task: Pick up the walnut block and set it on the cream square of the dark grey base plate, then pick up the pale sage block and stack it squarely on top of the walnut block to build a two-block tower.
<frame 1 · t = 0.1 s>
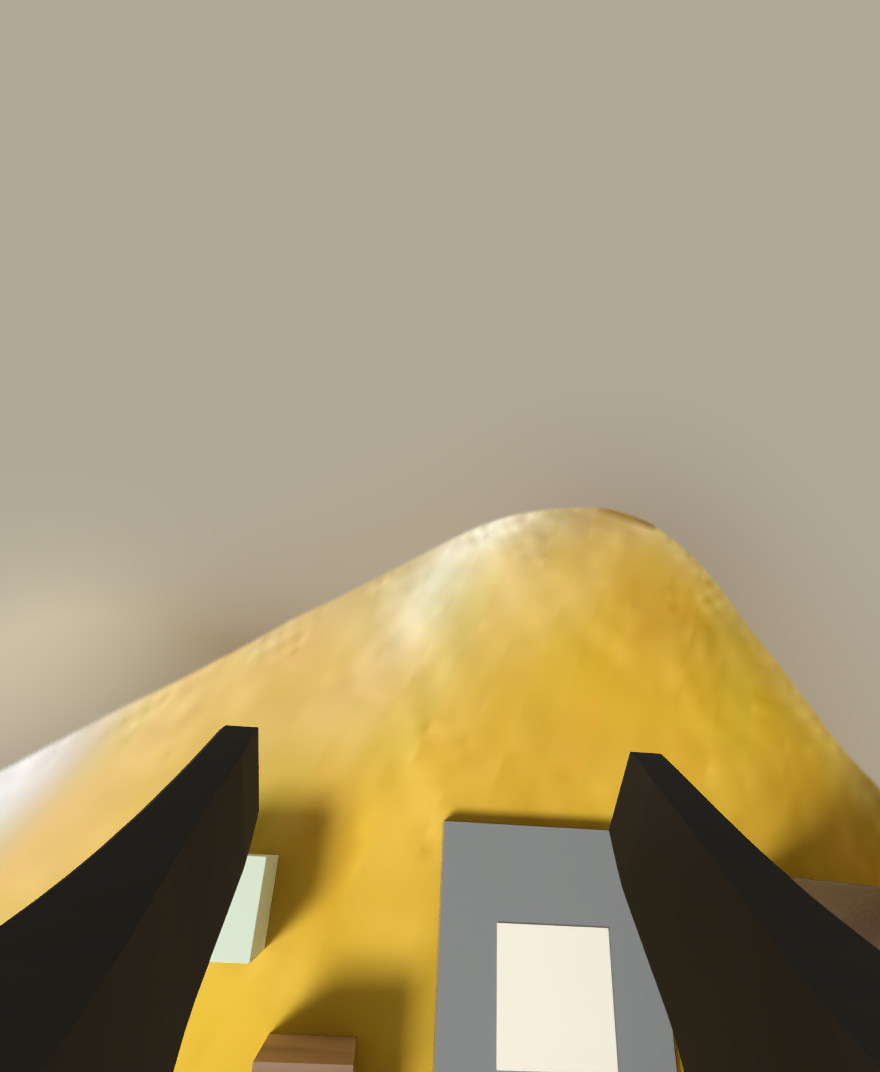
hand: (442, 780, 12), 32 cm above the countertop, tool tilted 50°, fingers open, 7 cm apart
base plate: (550, 991, 36), on the countertop
sage block: (231, 898, 37), on the countertop
pillar candle: (792, 962, 39), on the countertop
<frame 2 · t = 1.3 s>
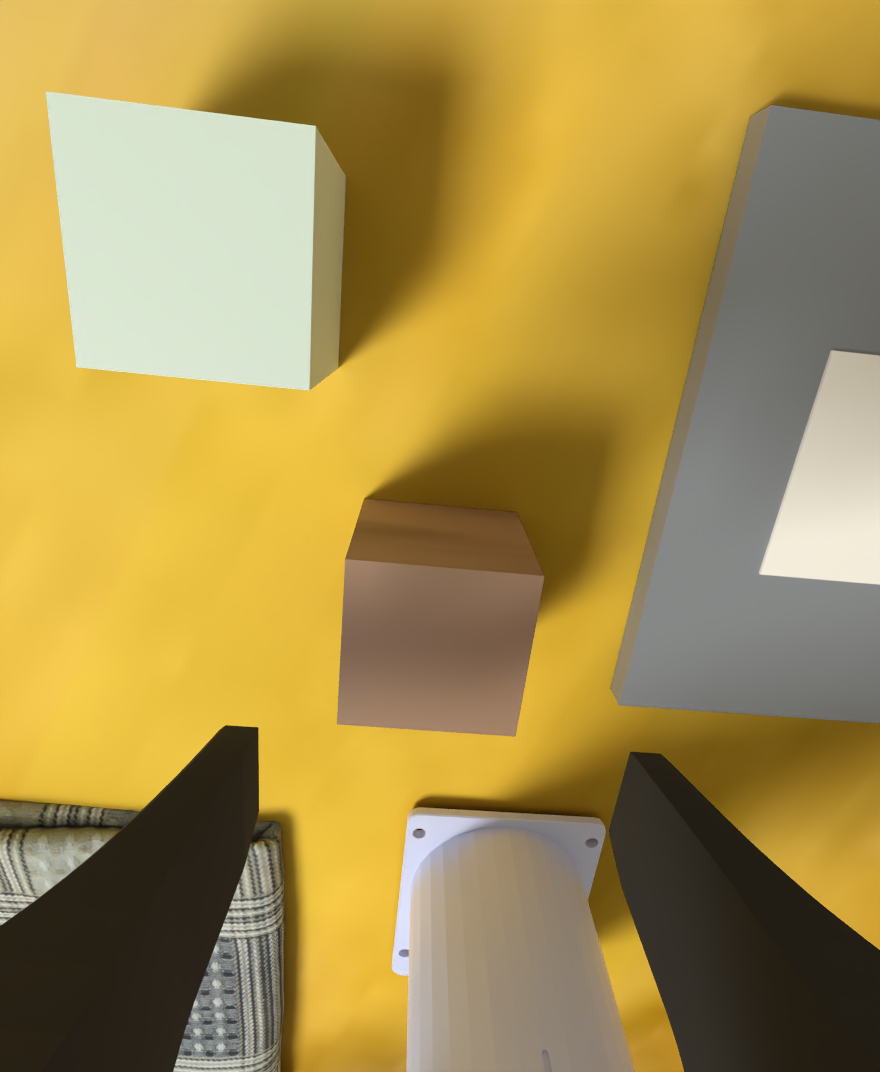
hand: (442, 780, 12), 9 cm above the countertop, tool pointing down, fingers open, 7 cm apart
dish towel: (85, 938, 27), on the countertop
base plate: (877, 471, 19), on the countertop
sage block: (253, 267, 17), on the countertop
walnut block: (433, 573, 20), on the countertop
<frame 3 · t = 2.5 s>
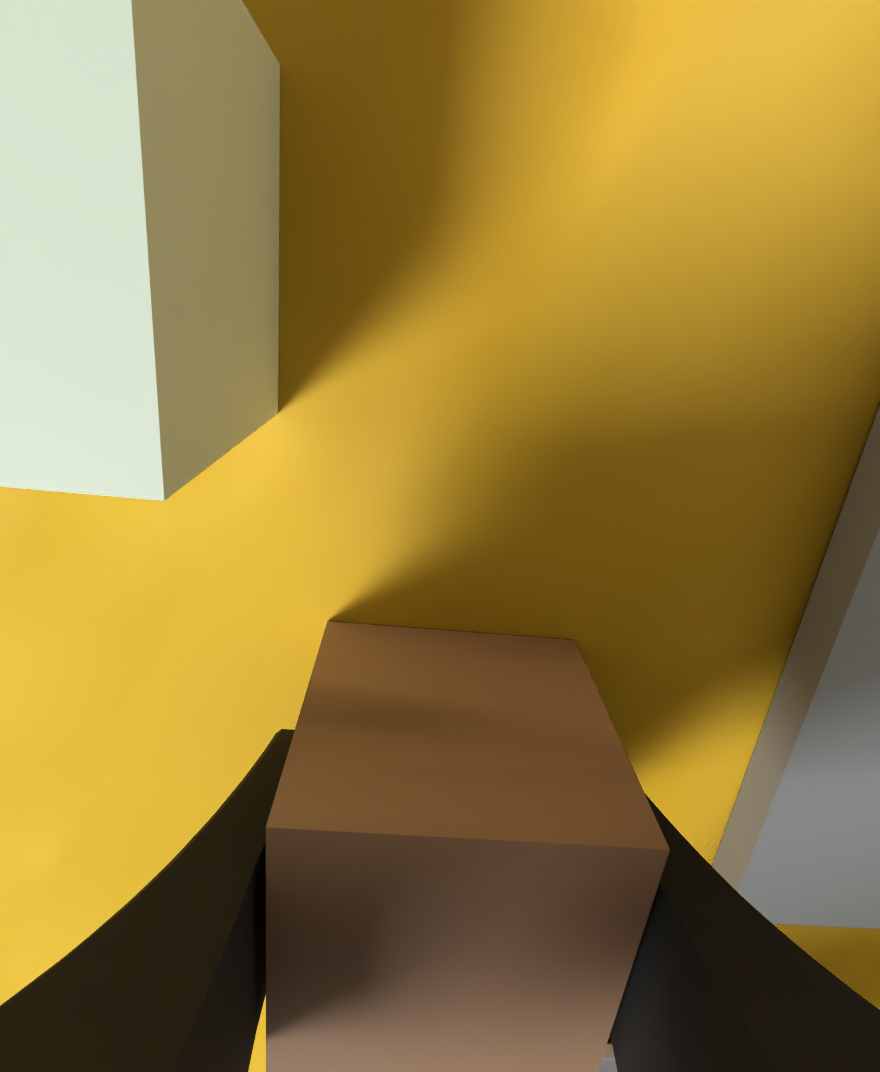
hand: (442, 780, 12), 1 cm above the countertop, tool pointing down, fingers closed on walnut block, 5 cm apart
sage block: (119, 237, 9), on the countertop
walnut block: (440, 731, 13), on the countertop, touching gripper
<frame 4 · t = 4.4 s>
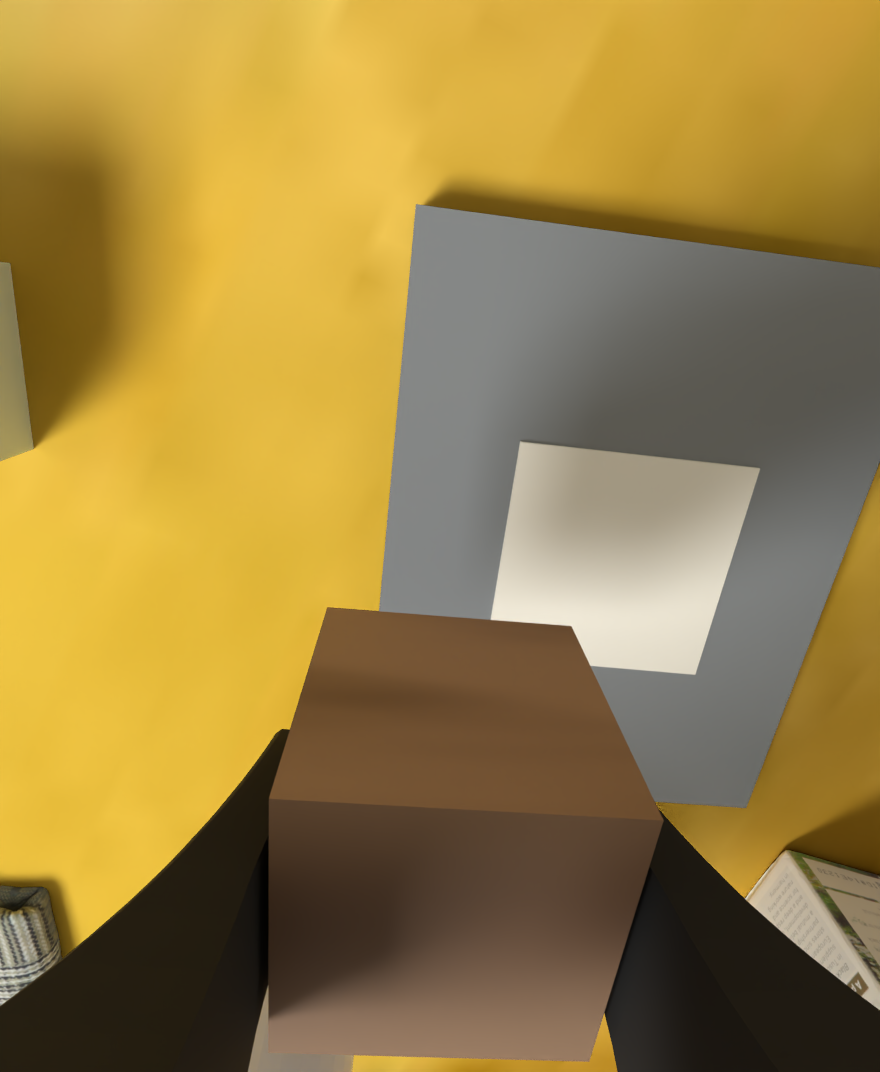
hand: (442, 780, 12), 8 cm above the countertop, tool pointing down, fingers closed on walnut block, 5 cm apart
syrup box: (801, 901, 26), on the countertop
base plate: (604, 553, 19), on the countertop
walnut block: (438, 717, 13), point 7 cm above the countertop, touching gripper
when the fingers open (4 cm above the countertop, at t = 6.2 s): walnut block stays where it is, resting on base plate.
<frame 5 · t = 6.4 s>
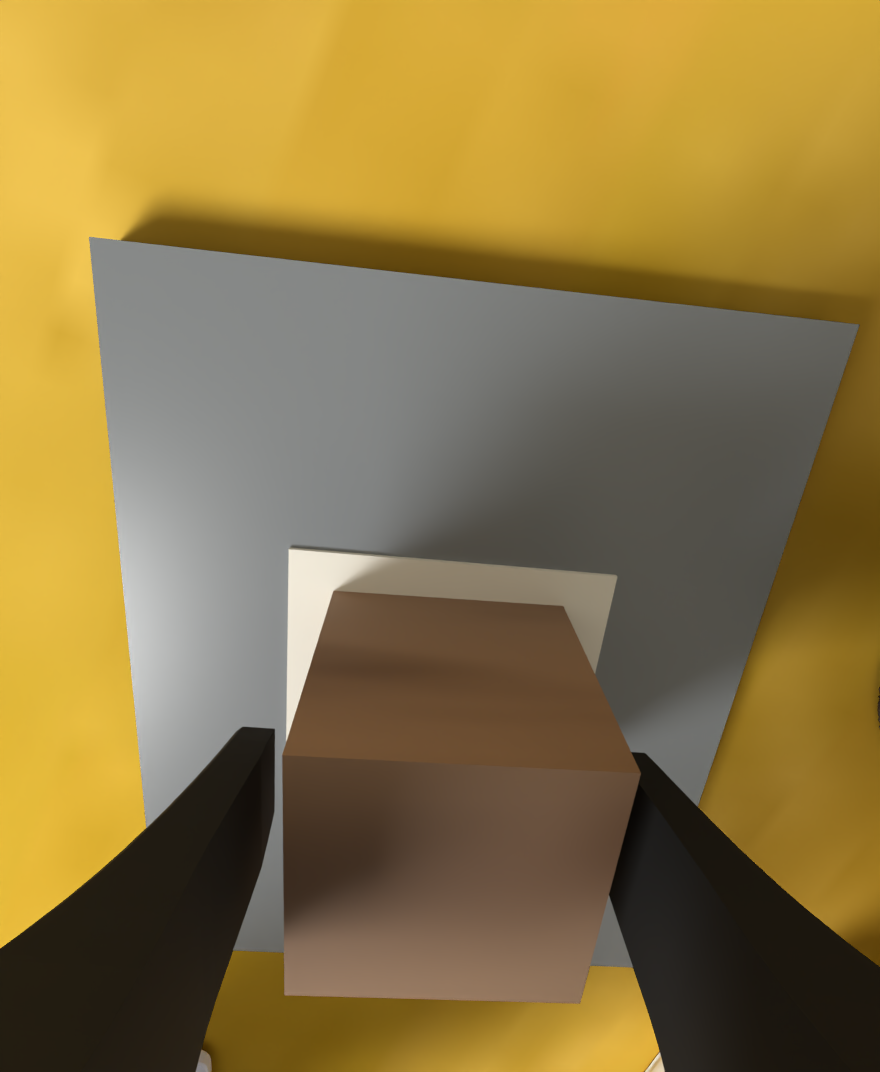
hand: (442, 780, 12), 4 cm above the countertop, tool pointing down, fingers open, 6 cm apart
base plate: (437, 673, 15), on the countertop
walnut block: (439, 694, 14), point 1 cm above the countertop, touching base plate
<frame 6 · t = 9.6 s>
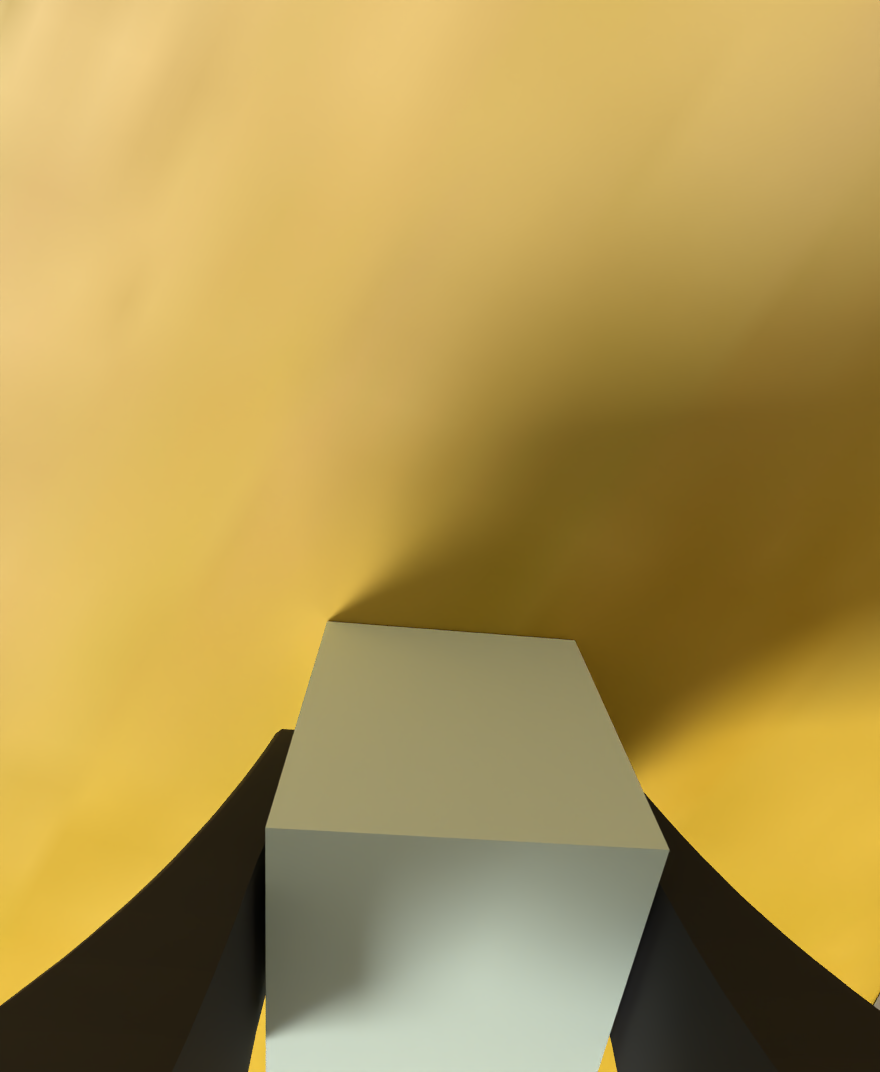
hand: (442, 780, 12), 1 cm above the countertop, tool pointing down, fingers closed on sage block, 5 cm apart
sage block: (439, 731, 13), on the countertop, touching gripper
when the fingers open (8 cm above the countertop, at t = 13.3 s): sage block stays where it is, resting on walnut block.
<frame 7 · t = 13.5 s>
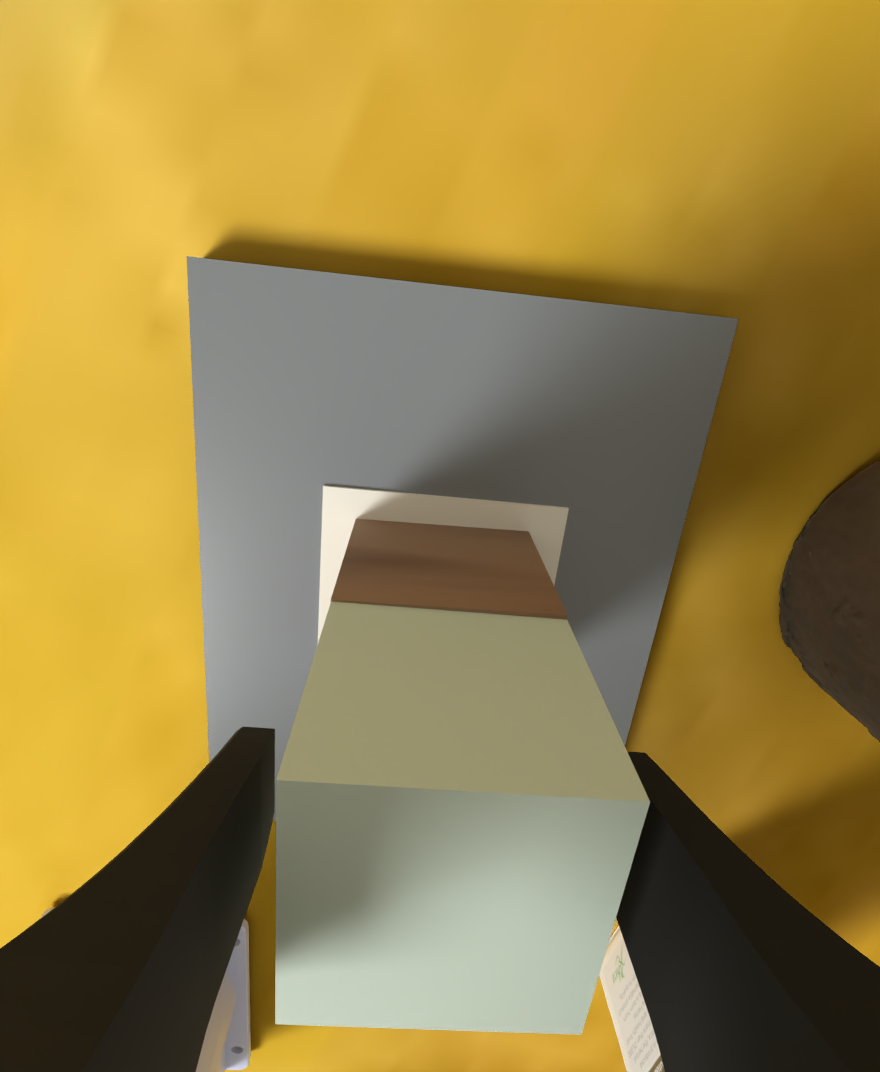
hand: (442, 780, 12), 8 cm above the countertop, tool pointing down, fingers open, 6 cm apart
syrup box: (679, 925, 26), on the countertop
base plate: (434, 590, 19), on the countertop
sage block: (438, 708, 13), point 6 cm above the countertop, touching walnut block
walnut block: (435, 602, 18), point 1 cm above the countertop, touching base plate, sage block
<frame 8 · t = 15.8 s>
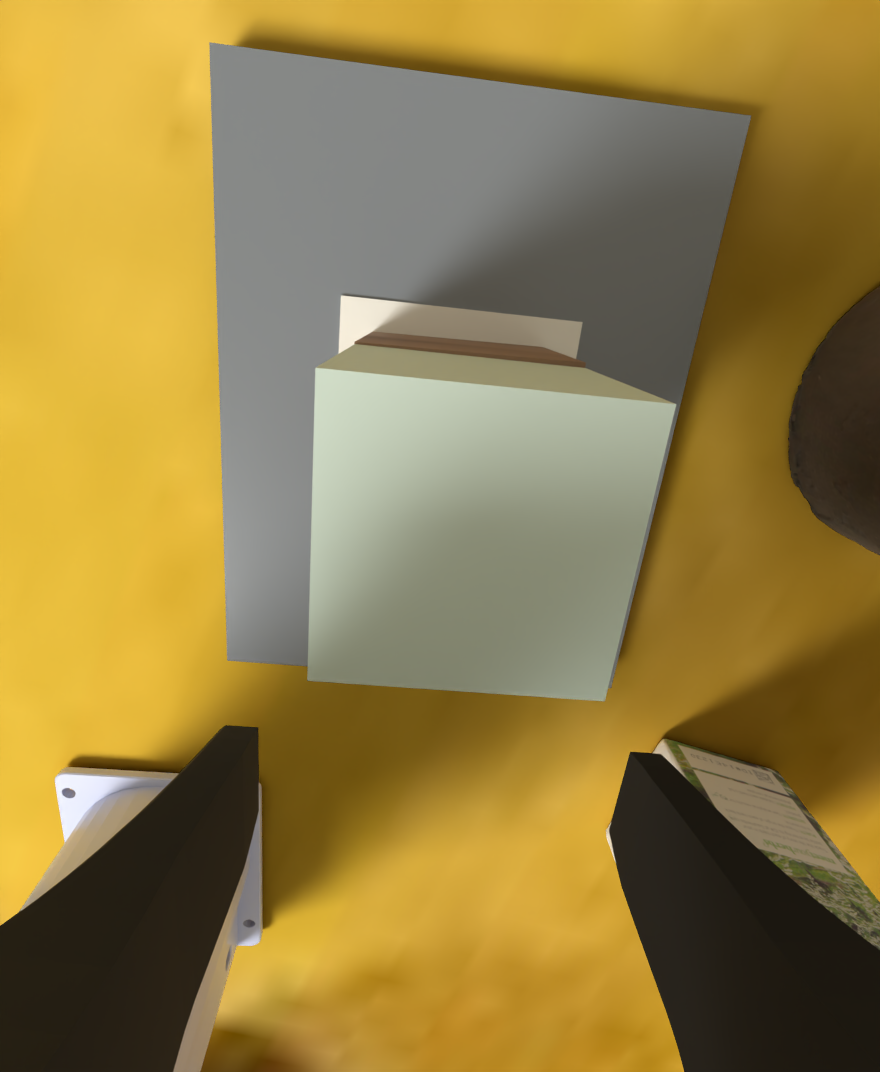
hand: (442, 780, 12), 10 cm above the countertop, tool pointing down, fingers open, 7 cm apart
syrup box: (687, 795, 26), on the countertop
base plate: (448, 423, 19), on the countertop
sage block: (458, 468, 14), point 6 cm above the countertop, touching walnut block
walnut block: (450, 424, 18), point 1 cm above the countertop, touching base plate, sage block
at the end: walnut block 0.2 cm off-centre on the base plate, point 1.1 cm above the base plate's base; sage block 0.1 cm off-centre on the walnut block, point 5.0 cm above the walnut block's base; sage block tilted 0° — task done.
